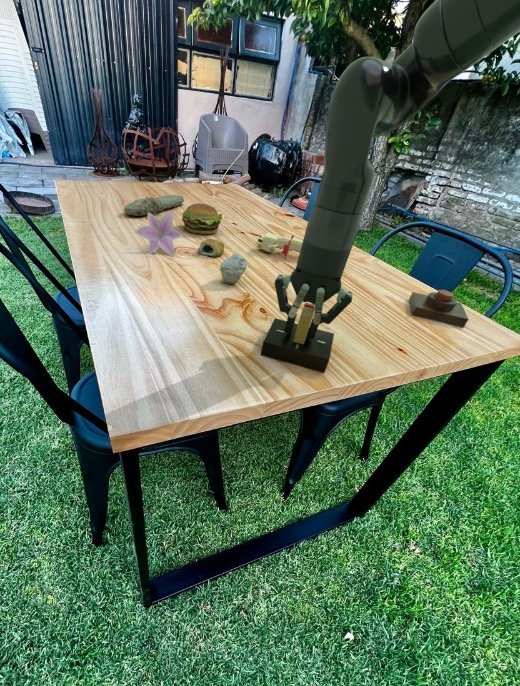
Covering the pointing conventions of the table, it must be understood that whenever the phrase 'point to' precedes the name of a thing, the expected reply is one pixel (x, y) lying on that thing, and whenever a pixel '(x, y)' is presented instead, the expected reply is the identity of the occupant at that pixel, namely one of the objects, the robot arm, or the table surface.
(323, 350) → the plate
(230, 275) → the frog figurine
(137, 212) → the elongated rock
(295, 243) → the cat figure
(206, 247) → the pastry
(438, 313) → the brown base
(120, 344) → the table surface
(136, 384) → the table surface
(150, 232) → the lily
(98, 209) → the table surface
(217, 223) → the food
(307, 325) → the lock knob
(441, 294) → the bell button
